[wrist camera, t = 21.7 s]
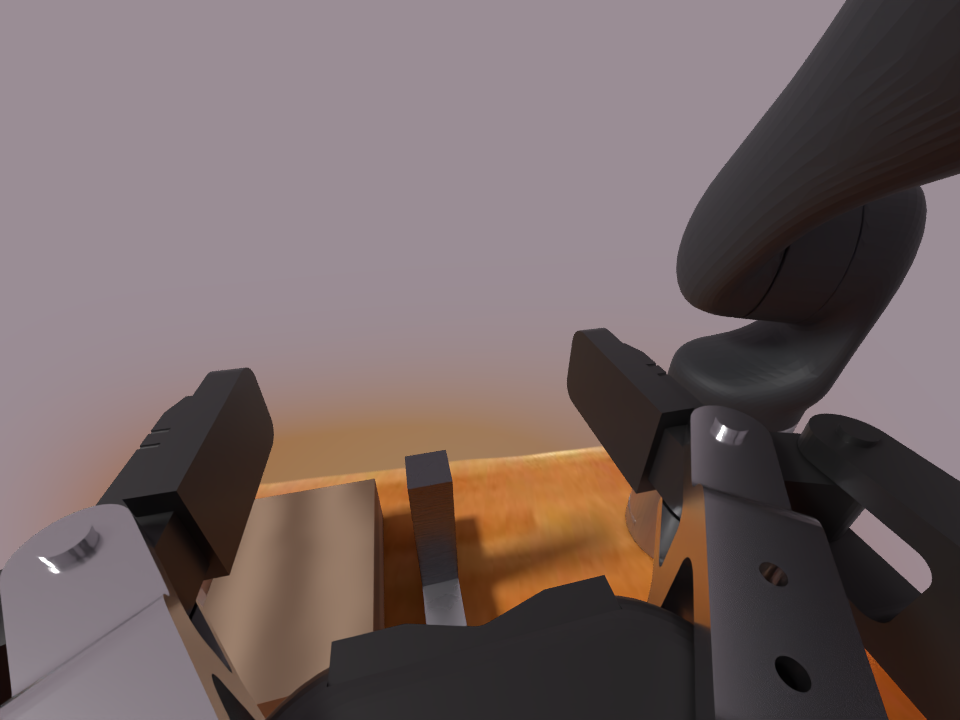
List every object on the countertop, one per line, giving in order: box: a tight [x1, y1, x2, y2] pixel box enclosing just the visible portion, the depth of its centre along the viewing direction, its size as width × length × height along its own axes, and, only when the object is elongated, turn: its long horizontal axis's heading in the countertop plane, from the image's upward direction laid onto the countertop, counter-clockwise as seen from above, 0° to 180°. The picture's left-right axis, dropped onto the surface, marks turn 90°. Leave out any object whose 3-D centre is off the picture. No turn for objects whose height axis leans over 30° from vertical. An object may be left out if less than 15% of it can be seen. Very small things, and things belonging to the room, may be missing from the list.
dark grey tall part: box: [405, 450, 467, 626], centre depth 31 cm, size 3×12×15 cm, turn 13°
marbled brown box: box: [203, 479, 384, 719], centre depth 31 cm, size 12×16×6 cm
